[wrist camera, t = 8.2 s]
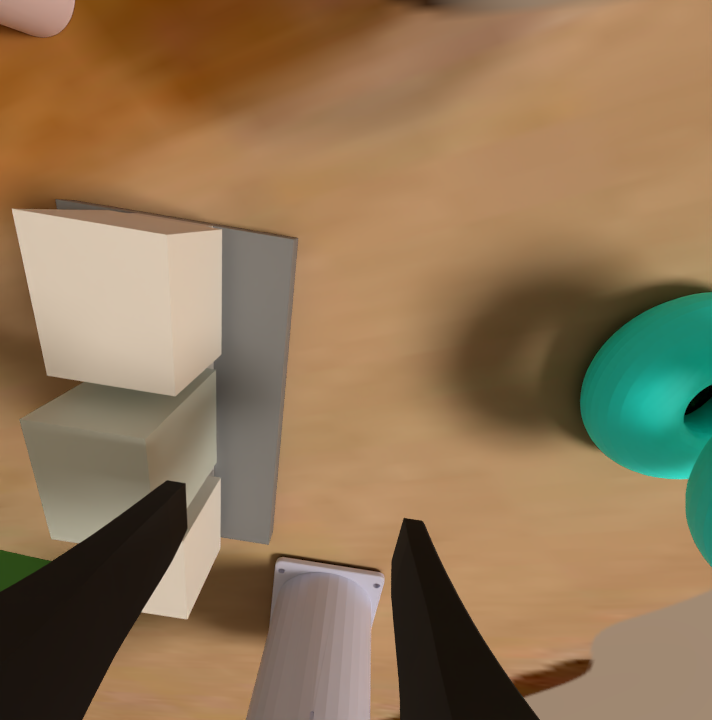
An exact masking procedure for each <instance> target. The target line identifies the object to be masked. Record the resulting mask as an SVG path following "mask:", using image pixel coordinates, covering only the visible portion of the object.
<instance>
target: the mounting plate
mask: <svg viewBox="0 0 712 720" xmlns="http://www.w3.org/2000/svg"><path fill="white" fill-rule="evenodd" d="M56 205H57V209H12V212H13V217H14V222H15V226H16V231H17V236H18V241H19V245H20V250H21V255H22V259H23V264H24V269H25V274H26V278H27V283H28V288H29V292H30V297H31V302H32V307H33V311H34V316H35V321H36V325H37V330H38V335H39V340H40V344H41V349H42V354H43V358H44V363H45V368H46V373H47V376H53V377H59V378H65V379H71V380H77V381H84V382H90V383H96V384H102V385H108V386H114V387H120V388H127V389H133V390H139V391H145V392H151V393H157V394H164V395H170V396H176V395H177V394H179V393H180V392H181V391H182V390H183V389H184V388H185V387H186V386H187V385H188V384H190V383H191V382H192V381H193V380H194V379H195V378H196V377H197V376H198V375H199V374H201V373H202V372H203V371H204V370H205V369H206V368H208V369H214V370H216V444H217V463H216V464H215V466H214V467H213V469H212V470H211V472H210V474H209V475H208V477H207V478H206V480H205V481H204V483H203V484H202V486H201V488H200V489H199V491H198V492H197V494H196V495H195V497H194V499H193V500H192V502H191V503H190V505H189V506H188V508H187V525H188V529H187V531H186V533H185V536H184V538H183V540H182V542H181V544H180V546H179V548H178V551H177V553H176V555H175V557H174V559H173V561H172V563H171V564H170V566H169V568H168V569H167V571H166V573H165V574H164V576H163V577H162V579H161V581H160V582H159V584H158V586H157V587H156V589H155V591H154V592H153V594H152V595H151V597H150V599H149V600H148V602H147V604H146V605H145V607H144V608H143V610H142V612H143V613H149V614H156V615H162V616H168V617H175V618H181V619H188V617H189V615H190V612H191V610H192V608H193V606H194V604H195V602H196V600H197V597H198V595H199V593H200V591H201V589H202V587H203V584H204V582H205V580H206V578H207V576H208V574H209V572H210V569H211V567H212V565H213V563H214V561H215V559H216V556H217V554H218V552H219V550H220V537H223V538H229V539H236V540H242V541H248V542H255V543H261V544H267V545H269V542H270V539H271V536H272V533H273V523H274V511H275V500H276V488H277V477H278V465H279V454H280V442H281V430H282V419H283V407H284V396H285V384H286V373H287V361H288V350H289V338H290V326H291V315H292V303H293V292H294V280H295V269H296V257H297V246H298V238H294V237H288V236H282V235H276V234H270V233H265V232H259V231H253V230H247V229H241V228H235V227H229V226H223V225H217V224H211V223H205V222H199V221H194V220H188V219H182V218H176V217H170V216H164V215H158V214H152V213H146V212H140V211H134V210H128V209H123V208H117V207H111V206H105V205H99V204H93V203H87V202H81V201H75V200H59V199H56Z"/></svg>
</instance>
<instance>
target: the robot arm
mask: <svg viewBox="0 0 712 720" xmlns="http://www.w3.org/2000/svg"><path fill="white" fill-rule="evenodd" d="M187 529H188V525H187V503H186V483H181V482H175V481H169V480H167V481H165V482H164V483H162V484H161V485H160V486H158V487H157V488H155V489H154V490H153V491H151V492H150V493H149V494H147V495H146V496H145V497H143V498H142V499H141V500H139V501H138V502H137V503H135V504H134V505H133V506H131V507H130V508H129V509H127V510H126V511H125V512H123V513H122V514H120V515H119V516H118V517H116V518H115V519H113V520H112V521H111V522H109V523H108V524H107V525H105V526H104V527H102V528H101V529H100V530H98V531H97V532H95V533H94V534H92V535H91V536H89V537H88V538H86V539H85V540H83V541H82V542H80V543H79V544H77V545H76V546H74V547H73V548H71V549H70V550H68V551H67V552H65V553H64V554H62V555H61V556H59V557H58V558H56V559H55V560H53V561H51V562H50V563H48V564H47V565H45V566H43V567H42V568H40V569H38V570H37V571H35V572H34V573H32V574H30V575H28V576H27V577H25V578H23V579H22V580H20V581H18V582H17V583H15V584H13V585H11V586H10V587H8V588H6V589H4V590H2V591H1V592H0V720H82V719H83V717H84V715H85V713H86V711H87V709H88V707H89V705H90V703H91V701H92V699H93V697H94V695H95V693H96V691H97V689H98V688H99V686H100V684H101V682H102V680H103V678H104V676H105V674H106V672H107V670H108V668H109V666H110V664H111V662H112V660H113V658H114V657H115V655H116V653H117V651H118V650H119V648H120V646H121V644H122V643H123V641H124V639H125V638H126V636H127V634H128V633H129V631H130V629H131V628H132V626H133V625H134V623H135V621H136V620H137V618H138V616H139V615H140V613H141V612H142V610H143V608H144V607H145V605H146V604H147V602H148V600H149V599H150V597H151V595H152V594H153V592H154V591H155V589H156V587H157V586H158V584H159V582H160V581H161V579H162V577H163V576H164V574H165V573H166V571H167V569H168V568H169V566H170V564H171V563H172V561H173V559H174V557H175V555H176V553H177V551H178V548H179V546H180V544H181V542H182V540H183V538H184V536H185V533H186V531H187ZM383 585H384V575H383V574H382V573H380V572H376V571H369V570H363V569H357V568H350V567H344V566H337V565H331V564H325V563H318V562H312V561H306V560H299V559H293V558H287V557H280V558H278V559H277V561H276V564H275V573H274V584H273V594H272V605H271V615H270V626H269V631H268V635H267V639H266V643H265V647H264V651H263V655H262V659H261V663H260V667H259V670H258V674H257V678H256V682H255V686H254V690H253V694H252V698H251V702H250V705H249V709H248V713H247V717H246V720H370V678H371V627H372V624H373V620H374V617H375V613H376V610H377V606H378V603H379V599H380V595H381V592H382V588H383ZM391 598H392V610H393V622H394V633H395V644H396V655H397V666H398V677H399V693H400V720H540V719H539V718H538V717H537V716H536V714H535V713H534V711H533V710H532V709H531V707H530V706H529V705H528V703H527V702H526V701H525V699H524V698H523V697H522V695H521V694H520V693H519V691H518V690H517V689H516V687H515V686H514V684H513V683H512V681H511V680H510V679H509V677H508V676H507V674H506V673H505V671H504V670H503V668H502V667H501V665H500V664H499V662H498V661H497V659H496V658H495V656H494V655H493V653H492V652H491V650H490V649H489V647H488V646H487V644H486V642H485V641H484V639H483V638H482V636H481V634H480V633H479V631H478V629H477V628H476V626H475V624H474V623H473V621H472V619H471V617H470V616H469V614H468V612H467V610H466V609H465V607H464V605H463V603H462V601H461V600H460V598H459V596H458V594H457V592H456V590H455V588H454V586H453V584H452V582H451V581H450V579H449V577H448V575H447V573H446V571H445V569H444V567H443V565H442V562H441V560H440V558H439V556H438V554H437V552H436V550H435V547H434V545H433V543H432V541H431V538H430V536H429V534H428V531H427V529H426V526H425V524H424V523H423V521H420V520H413V519H407V518H404V519H403V523H402V526H401V530H400V533H399V537H398V540H397V544H396V547H395V551H394V554H393V558H392V569H391Z"/></svg>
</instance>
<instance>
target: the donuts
mask: <svg viewBox="0 0 712 720" xmlns="http://www.w3.org/2000/svg"><path fill="white" fill-rule="evenodd" d="M710 385H712V292H705V293H698V294H692V295H688V296H684V297H680V298H677V299H674V300H671V301H667V302H665V303H662V304H660V305H658V306H655V307H653V308H651V309H649V310H647V311H645V312H643V313H642V314H640V315H638V316H636V317H635V318H633V319H632V320H630V321H629V322H628V323H626V324H625V325H624V326H622V327H621V328H620V329H619V330H618V331H616V332H615V333H614V334H613V335H612V336H611V337H610V338H609V339H608V340H607V341H606V342H605V343H604V345H603V346H602V347H601V348H600V350H599V351H598V352H597V354H596V355H595V357H594V358H593V360H592V362H591V364H590V366H589V367H588V370H587V372H586V374H585V377H584V380H583V384H582V388H581V397H580V410H581V416H582V420H583V423H584V426H585V428H586V430H587V432H588V435H589V436H590V438H591V440H592V441H593V442H594V444H595V445H596V446H597V447H598V448H599V449H600V450H601V451H602V452H603V453H604V454H605V455H606V456H607V457H609V458H610V459H612V460H613V461H615V462H616V463H618V464H619V465H621V466H623V467H625V468H627V469H629V470H632V471H635V472H638V473H641V474H644V475H648V476H652V477H659V478H667V479H689V480H688V483H687V489H686V518H687V523H688V526H689V529H690V532H691V535H692V537H693V540H694V542H695V544H696V546H697V548H698V549H699V551H700V552H701V554H702V555H703V557H704V558H705V560H706V561H707V562H708V563H709V565H710V566H711V567H712V397H711V398H710V399H709V400H708V401H707V402H706V403H705V404H704V405H702V406H701V407H700V408H698V409H697V410H695V411H693V412H692V413H690V414H688V415H685V416H684V414H685V410H686V408H687V406H688V404H689V403H690V401H691V400H692V399H693V398H694V397H695V396H696V395H697V394H698V393H699V392H701V391H702V390H703V389H705V388H706V387H708V386H710Z"/></svg>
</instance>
